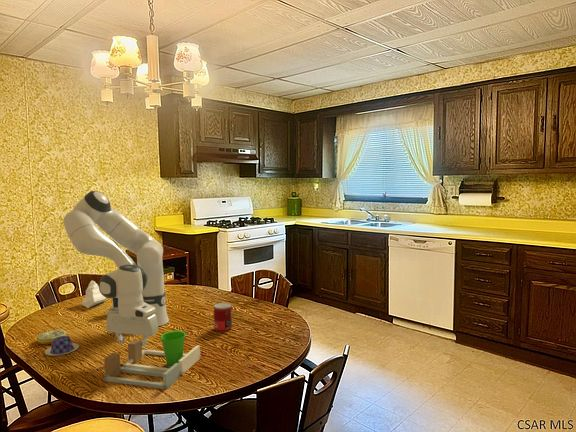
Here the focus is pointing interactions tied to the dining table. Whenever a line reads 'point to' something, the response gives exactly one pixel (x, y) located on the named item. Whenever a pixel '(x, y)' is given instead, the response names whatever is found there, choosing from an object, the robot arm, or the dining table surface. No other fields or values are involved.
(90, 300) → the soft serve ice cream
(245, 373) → the dining table surface
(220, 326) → the canned food
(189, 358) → the frame
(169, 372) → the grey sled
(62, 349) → the checkered hat
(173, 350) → the cup
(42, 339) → the decorated donut
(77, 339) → the dining table surface
